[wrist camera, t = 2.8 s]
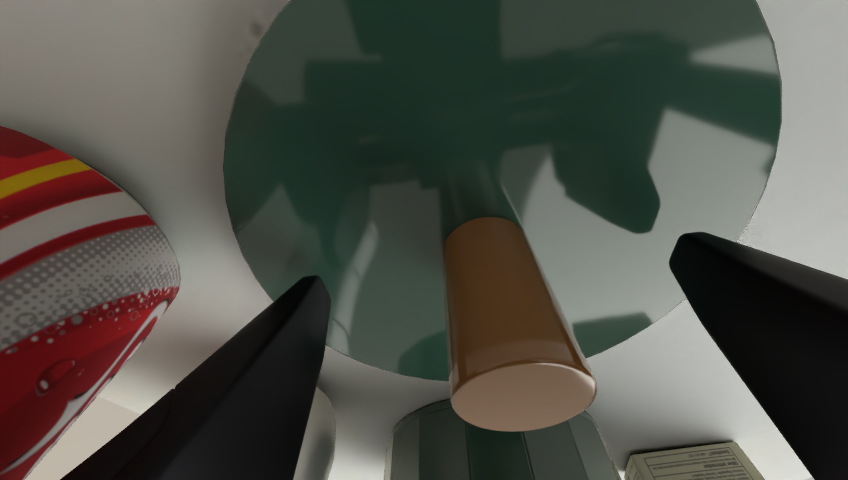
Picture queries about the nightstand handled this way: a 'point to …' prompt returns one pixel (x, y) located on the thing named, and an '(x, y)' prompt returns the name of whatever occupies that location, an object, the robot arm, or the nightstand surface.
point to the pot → (494, 450)
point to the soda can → (68, 292)
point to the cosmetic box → (693, 464)
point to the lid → (497, 177)
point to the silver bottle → (317, 441)
